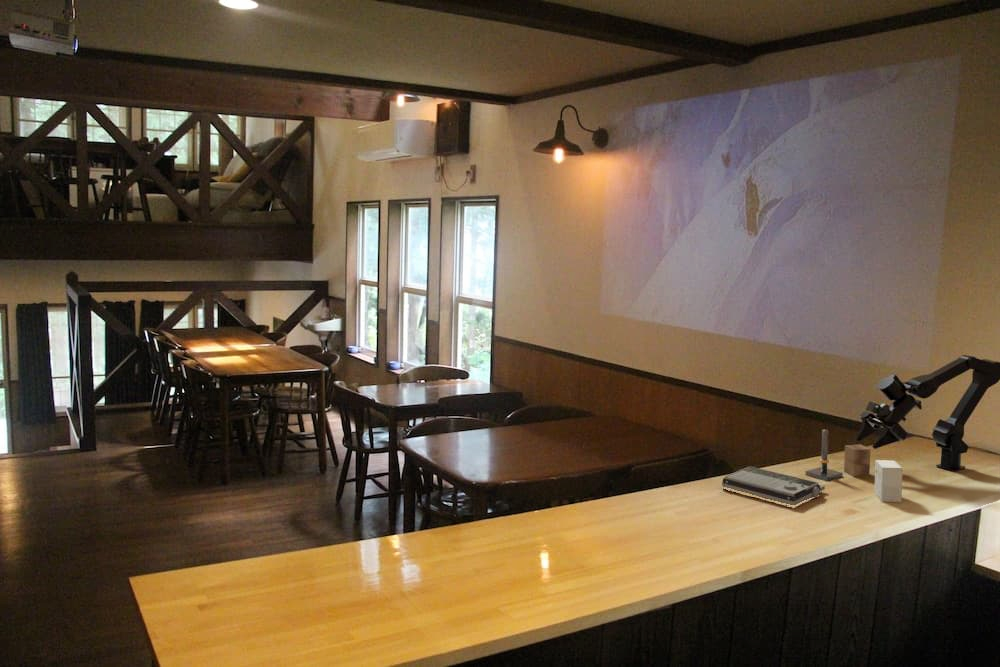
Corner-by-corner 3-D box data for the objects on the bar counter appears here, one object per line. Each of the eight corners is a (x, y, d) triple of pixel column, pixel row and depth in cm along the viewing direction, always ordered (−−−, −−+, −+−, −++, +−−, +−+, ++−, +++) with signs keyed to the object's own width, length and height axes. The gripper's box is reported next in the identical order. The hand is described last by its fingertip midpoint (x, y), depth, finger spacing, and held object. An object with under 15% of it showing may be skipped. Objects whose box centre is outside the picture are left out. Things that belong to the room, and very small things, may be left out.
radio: (721, 475, 244) (756, 461, 257) (721, 491, 245) (756, 476, 258) (795, 493, 226) (828, 477, 239) (794, 511, 227) (828, 494, 239)
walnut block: (859, 470, 260) (860, 444, 259) (869, 476, 255) (870, 449, 253) (844, 471, 259) (845, 445, 258) (853, 477, 254) (854, 450, 253)
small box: (901, 502, 230) (903, 468, 228) (881, 502, 231) (882, 467, 230) (893, 493, 238) (895, 460, 236) (873, 493, 239) (875, 459, 237)
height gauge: (821, 470, 262) (822, 425, 260) (842, 476, 255) (843, 430, 253) (805, 474, 257) (806, 429, 255) (826, 481, 251) (828, 434, 249)
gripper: (866, 387, 264) (834, 421, 264) (900, 399, 245) (865, 435, 246) (887, 409, 266) (855, 442, 266) (922, 422, 247) (888, 458, 247)
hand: (865, 444), depth 256 cm, fingers open, 9 cm apart
